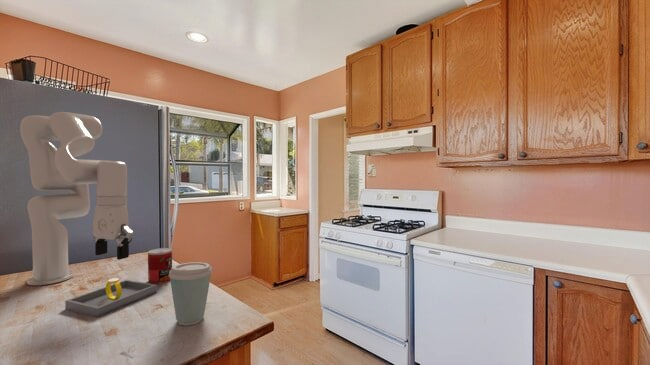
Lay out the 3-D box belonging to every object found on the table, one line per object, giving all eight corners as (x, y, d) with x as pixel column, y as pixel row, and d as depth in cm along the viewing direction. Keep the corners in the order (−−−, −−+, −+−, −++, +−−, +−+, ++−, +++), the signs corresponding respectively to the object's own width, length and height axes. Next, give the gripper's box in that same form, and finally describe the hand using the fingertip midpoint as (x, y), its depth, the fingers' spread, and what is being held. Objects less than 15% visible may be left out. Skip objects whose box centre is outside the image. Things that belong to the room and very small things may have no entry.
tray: (65, 309, 84) (65, 300, 83) (127, 286, 100) (126, 279, 100) (97, 317, 79) (97, 308, 79) (156, 292, 96) (156, 284, 96)
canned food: (162, 284, 103) (161, 253, 102) (142, 282, 104) (142, 252, 104) (177, 277, 110) (176, 248, 110) (159, 275, 112) (158, 247, 111)
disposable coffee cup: (182, 310, 83) (181, 258, 83) (219, 310, 83) (219, 258, 82) (160, 330, 72) (159, 270, 72) (202, 330, 72) (202, 271, 72)
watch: (124, 299, 90) (124, 280, 89) (114, 302, 87) (114, 283, 87) (112, 294, 92) (112, 276, 92) (102, 297, 90) (103, 279, 89)
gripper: (80, 200, 88) (80, 255, 89) (119, 204, 82) (118, 263, 83) (106, 198, 95) (105, 249, 96) (143, 202, 89) (143, 256, 90)
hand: (112, 256), depth 90 cm, fingers open, 9 cm apart
